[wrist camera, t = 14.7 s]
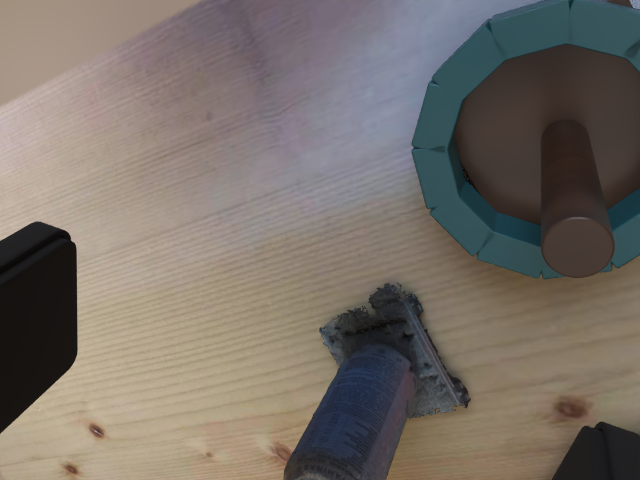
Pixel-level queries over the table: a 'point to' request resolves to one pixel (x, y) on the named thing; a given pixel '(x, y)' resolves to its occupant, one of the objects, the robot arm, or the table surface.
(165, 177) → the table surface
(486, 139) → the post
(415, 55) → the table surface
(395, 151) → the table surface
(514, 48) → the ring
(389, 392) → the can on ragged base
